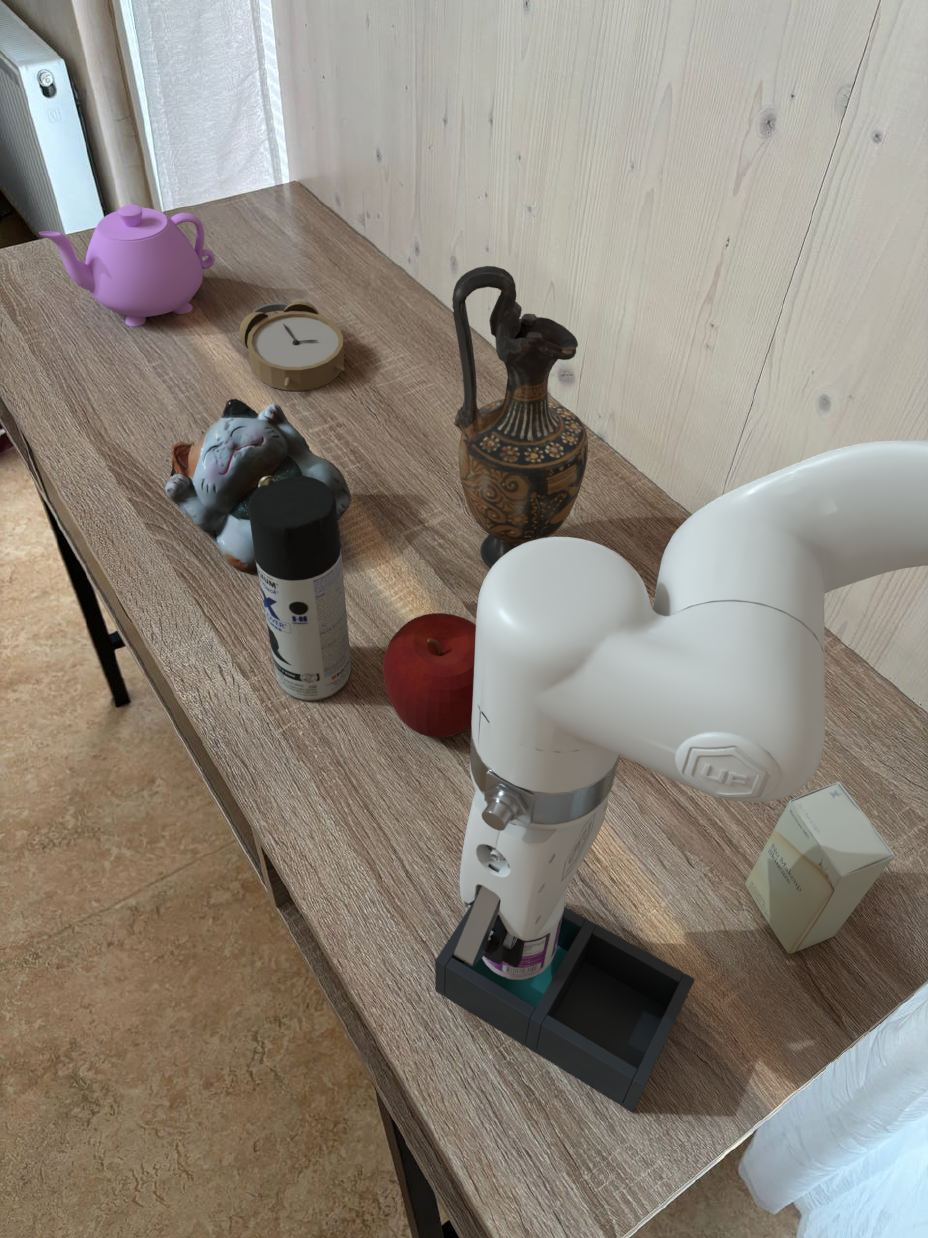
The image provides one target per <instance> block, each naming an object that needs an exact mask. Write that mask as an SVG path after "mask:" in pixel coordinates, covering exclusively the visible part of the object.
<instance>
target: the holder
mask: <svg viewBox="0 0 928 1238" xmlns="http://www.w3.org/2000/svg"><path fill="white" fill-rule="evenodd" d="M474 903H475V902H474ZM469 906H470V907H469V908H468V910H467V911H466V912H465V914H464V916H463V917H462V919H461V920H460V922H459V923H458V925H457V926H456V927H455V929H454V931H453V932H452V934H451V936H449V939H448V940H447V942H446V943H445V945H444V946H443V948H442V949H441V951H440V952H439V954H438V956H437V957H436V958H435V961H434V963H435V965H434V966H435V967H434V969H435V970H434V971H435V972H434V973H435V975H434V976H435V979H434V980H435V983H434V984H435V985H434V987H435V988H434V990H435V992H436V993H438V994H440V995H441V996H443V997H444V998H445V999H448V1001H451V1002H452V1003H454V1004H455V1005H457V1006H459V1007H460V1008H462V1009H464V1010H465V1011H466V1012H469V1013H470V1014H472V1015H473V1016H475V1017H477V1018H478V1019H479V1020H481V1021H483V1022H484V1023H487V1024H488V1025H490V1026H492V1027H493V1028H494V1029H496V1030H498V1031H499V1032H501V1033H503V1034H504V1035H506V1037H509V1038H511V1039H512V1040H513V1041H515V1042H517V1043H518V1044H520V1045H522V1046H524V1047H525V1048H526V1049H528V1050H530V1051H532V1052H533V1053H535V1054H537V1055H538V1056H540V1057H542V1058H543V1059H544V1060H546V1061H548V1062H549V1063H551V1064H552V1065H554V1066H556V1067H558V1068H559V1069H561V1070H563V1071H564V1072H566V1073H567V1074H569V1075H570V1076H573V1078H575V1079H577V1080H578V1081H580V1082H582V1083H584V1084H586V1085H587V1086H589V1087H590V1088H592V1089H593V1090H595V1091H596V1092H597V1093H599V1094H601V1095H603V1096H605V1097H606V1098H608V1099H610V1100H611V1101H613V1102H614V1103H616V1104H618V1105H619V1106H621V1107H622V1108H624V1109H625V1110H627V1111H629V1112H631V1113H632V1114H633V1113H634V1111H635V1109H636V1107H637V1105H638V1103H639V1101H640V1098H641V1096H642V1094H643V1092H644V1089H645V1087H646V1086H647V1084H648V1081H649V1079H650V1077H651V1075H652V1073H653V1070H654V1068H655V1066H656V1064H657V1063H658V1060H659V1057H660V1056H661V1053H662V1051H663V1050H664V1047H665V1044H666V1042H667V1040H668V1039H669V1037H670V1035H671V1032H672V1030H673V1027H674V1025H675V1023H676V1021H677V1019H678V1017H679V1014H680V1012H681V1011H682V1008H683V1006H684V1004H685V1002H686V999H687V998H688V996H689V993H690V991H691V989H692V987H693V984H694V983H695V980H696V979H695V978H694V977H693V976H690V975H689V974H688V973H684V971H682V970H680V969H678V968H677V967H675V966H673V965H671V964H670V963H667V962H666V961H664V960H662V959H661V958H659V957H657V956H655V955H653V954H652V953H649V952H648V951H646V950H644V949H642V948H641V947H639V946H637V945H635V944H634V943H631V942H630V941H628V940H627V939H625V938H623V937H621V936H619V935H617V934H615V933H614V932H612V931H610V930H608V929H607V928H604V927H603V926H601V925H599V924H597V923H596V922H594V921H592V920H590V919H589V918H586V917H585V916H583V915H581V914H579V913H577V912H576V911H574V910H572V909H570V908H569V907H566V906H565V907H564V912H563V916H562V921H561V926H560V931H559V936H558V942H557V947H556V951H555V954H554V957H553V959H552V961H551V963H550V964H549V966H548V967H547V968H546V969H545V970H544V971H543V972H542V973H540V974H538V975H536V976H534V977H531V978H528V979H524V980H512V979H507V978H506V977H503V976H500V975H498V974H497V973H495V972H493V971H492V970H491V969H490V968H489V967H488V966H487V965H486V963H485V962H484V960H483V959H480V960H479V961H478V962H477V963H476V964H475V965H474V966H471V965H469V964H468V963H466V962H464V961H463V960H461V959H459V958H458V957H456V956H454V952H455V949H456V947H457V944H458V942H459V939H460V937H461V934H462V932H463V930H464V927H465V925H466V922H467V920H468V918H469V915H470V913H471V910H472V908H473V906H474V904H473V905H472V906H471V905H469Z"/></svg>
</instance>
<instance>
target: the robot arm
mask: <svg viewBox="0 0 928 1238" xmlns="http://www.w3.org/2000/svg"><path fill="white" fill-rule="evenodd" d="M927 566H928V439H903V440H902V439H894V440H875V441H869V442H863V443H856V444H851V445H847V446H844V447H840V448H835V449H831V450H828V451H826V452H822V453H818V454H816V455H813V456H810V457H809V458H806V459H803V460H801V461H799V462H797V463H794V464H791V465H788V466H786V467H783V468H781V469H779V470H776V471H774V472H771V473H768V474H767V475H764V476H762V477H760V478H757V479H755V480H752V481H750V482H748V483H746V484H743V485H741V486H739V487H737V488H734V489H733V490H730V491H729V492H726V493H724V494H722V495H720V496H719V497H717V498H715V499H713V500H712V501H710V502H708V503H707V504H705V505H704V506H702V507H701V508H700V509H698V510H697V511H695V512H694V513H693V514H691V515H690V516H689V517H687V519H686V520H685V521H684V522H683V523H682V524H681V525H679V527H678V528H677V529H676V530H675V531H674V533H673V534H672V536H671V538H670V540H669V541H668V544H667V545H666V547H665V549H664V552H663V553H662V558H661V559H660V566H659V570H658V576H657V581H656V587H655V593H654V600H653V606H652V604H651V599H650V596H649V593H648V590H647V587H646V585H645V582H644V580H643V579H642V577H641V576H640V575H639V573H638V571H637V570H636V568H634V567H633V566H632V564H630V562H629V561H628V560H627V559H626V558H624V557H623V556H622V555H620V554H619V553H617V552H616V551H614V550H612V549H610V548H609V547H607V546H604V545H603V544H600V543H597V542H594V541H592V540H588V539H583V538H579V537H571V536H549V537H547V538H541V539H537V540H533V541H529V542H526V543H524V544H521V545H519V546H518V547H516V548H514V549H512V550H510V551H509V552H508V553H506V554H505V555H504V556H502V557H501V558H500V559H499V560H498V561H497V562H496V563H495V564H494V565H493V566H492V568H491V569H490V568H489V570H488V572H487V574H486V576H485V577H484V579H483V582H482V584H481V587H480V590H479V593H478V598H477V607H476V617H475V618H476V619H475V625H476V638H475V662H474V685H473V704H472V723H471V724H472V727H471V728H470V729H471V731H470V746H469V747H470V750H469V774H470V779H471V782H472V784H473V787H474V790H475V792H474V795H473V798H472V802H471V806H470V811H469V814H468V818H467V819H468V820H467V824H466V827H465V828H466V829H465V834H464V839H463V846H462V852H461V859H460V867H459V869H460V870H459V894H460V898H461V902H462V904H463V906H464V907H465V908H467V907H469V906H472V905H473V904H474V906H473V908H472V910H471V913H470V915H469V918H468V920H467V922H466V925H465V927H464V930H463V932H462V934H461V937H460V939H459V942H458V944H457V947H456V949H455V952H454V956H456V957H458V958H459V959H461V960H463V961H464V962H466V963H468V964H469V965H471V966H474V965H475V964H476V963H477V962H478V961H479V960H480V959H482V958H483V956H484V957H486V958H487V959H489V960H491V961H492V962H494V963H496V964H501V963H502V961H504V962H506V963H507V964H509V965H511V966H512V967H515V968H517V967H518V966H519V964H520V962H521V960H522V955H523V949H524V942H525V941H526V940H529V939H532V938H534V937H535V936H536V935H537V934H538V933H539V932H540V931H541V929H542V928H543V926H544V925H545V923H546V922H547V920H548V919H549V917H550V915H551V914H552V912H553V910H554V909H555V907H556V905H557V904H558V902H559V900H560V899H561V897H562V895H563V894H564V895H565V893H566V891H567V889H568V887H569V886H570V884H571V882H572V880H573V879H574V877H575V875H576V873H577V872H578V870H579V868H580V867H581V865H582V864H583V861H584V860H585V858H586V856H587V855H588V853H589V851H590V850H591V848H592V846H593V845H594V842H595V841H596V839H597V837H598V836H599V834H600V831H601V829H602V826H603V824H604V821H605V818H606V813H607V811H608V810H607V809H608V803H609V797H610V794H611V792H612V790H613V788H614V781H615V778H616V774H617V770H618V765H619V761H620V757H623V758H625V759H628V760H630V761H632V762H634V763H636V764H638V765H641V766H643V768H646V769H648V770H651V771H653V772H654V773H657V774H659V775H661V776H663V777H666V778H667V779H670V780H672V781H674V782H677V783H679V784H681V785H683V786H686V787H688V788H690V789H693V790H696V791H698V792H701V793H704V794H706V795H709V796H711V797H713V798H717V799H720V800H726V801H730V802H731V801H732V802H741V803H753V804H755V803H756V804H757V803H758V804H759V803H768V802H775V801H779V800H782V799H786V798H788V797H790V796H792V795H794V794H796V793H798V792H799V791H801V790H802V789H803V788H805V786H806V785H808V784H809V782H810V781H811V780H812V779H813V777H814V776H815V773H816V772H817V771H818V769H819V766H820V764H821V762H822V758H823V754H824V747H825V739H826V676H825V675H826V673H825V671H826V668H825V667H826V642H825V641H826V638H825V633H826V632H825V631H826V629H825V594H828V593H830V592H832V591H834V590H838V589H840V588H843V587H846V586H849V585H853V584H855V583H857V582H861V581H865V580H867V579H871V578H873V577H877V576H880V575H883V574H886V573H890V572H894V571H899V570H903V569H909V568H910V569H911V568H917V567H927ZM474 902H475V903H474Z"/></svg>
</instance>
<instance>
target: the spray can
mask: <svg viewBox="0 0 928 1238" xmlns="http://www.w3.org/2000/svg"><path fill="white" fill-rule="evenodd" d="M248 512H249V518H250V525H251V532H252V539H253V546H254V554H255V559H256V565H257V570H258V574H257V575H258V582H259V586H260V591H261V597H262V599H261V600H262V604H263V609H264V615H265V621H266V627H267V633H268V639H269V644H270V649H271V656H272V662H273V668H274V672H275V676H276V679H277V682H278V684H279V686H280V687H281V689H282V691H283V692H285V693H286V694H287V695H289V696H290V697H292V698H293V699H298V700H301V701H304V702H317V701H322V700H327V699H328V698H331V697H333V696H335V695H336V694H338V693H339V692H340V691H341V690H343V688H344V687H345V686H346V684H347V683H348V680H349V679H350V674H351V670H352V662H351V661H352V660H351V649H350V638H349V626H348V614H347V602H346V591H345V581H344V567H343V556H342V543H341V533H340V527H339V520H338V515H337V506H336V499H335V495H334V493H333V491H332V490H331V489H330V488H329V487H328V486H327V485H326V484H325V483H324V482H322V481H320V480H318V479H315V478H312V477H307V476H304V475H302V476H299V477H297V478H286V479H281V480H278V481H275V482H272V483H270V484H268V485H262V486H260V487H259V488H258V489H257V490H256V491H254V493H253V495H252V496H251V498H250V501H249V503H248Z"/></svg>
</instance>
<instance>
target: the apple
mask: <svg viewBox="0 0 928 1238" xmlns="http://www.w3.org/2000/svg"><path fill="white" fill-rule="evenodd" d="M475 638H476V623H474V622H472V620H471V621H470V620H469V619H467V618H464V617H463V616H459V615H455V614H452V613H443V612H436V613H435V612H434V613H426V614H422V615H419V616H416V617H414V618H413V619H410V620H409V621H407V622H405V624H403V625H402V626H401V627H400V628H399V629H398V630H397V632H396V633H395V634H394V635H393V636H392V638H391V639H390V641H389V643H388V644H387V647H386V651H385V653H384V657H383V662H382V664H383V665H382V678H383V683H384V687H385V691H386V694H387V698H388V699H389V701H390V704H391V705H392V707H393V709H394V711H395V713H396V715H397V716H398V718H400V720H401V721H402V722H403V723H404V724H405V726H407V727H408V728H409V729H410V730H412V731H414V732H416V733H418V734H420V735H422V736H425V737H429V738H448V737H449V738H450V737H454V736H456V735H458V734H462V733H464V732H466V731H468V730H470V729H471V727H472V724H471V723H472V704H473V685H474V662H475Z"/></svg>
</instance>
